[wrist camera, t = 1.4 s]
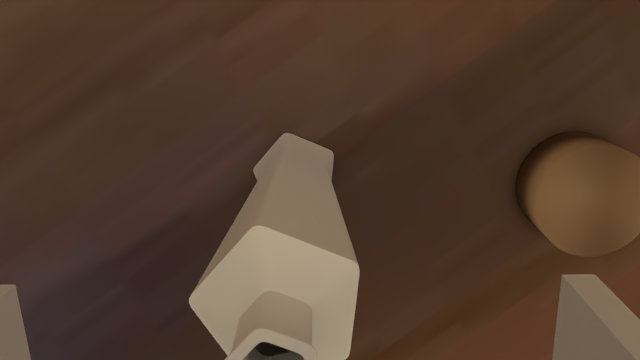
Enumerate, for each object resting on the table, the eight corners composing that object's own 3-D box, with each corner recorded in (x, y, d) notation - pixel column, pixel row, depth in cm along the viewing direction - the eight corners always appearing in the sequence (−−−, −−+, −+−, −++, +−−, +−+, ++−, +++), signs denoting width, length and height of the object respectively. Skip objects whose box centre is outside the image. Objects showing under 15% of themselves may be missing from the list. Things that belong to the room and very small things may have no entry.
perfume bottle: (332, 114, 26) (351, 253, 11) (352, 202, 27) (392, 426, 13) (235, 136, 26) (135, 299, 12) (259, 222, 27) (197, 463, 13)
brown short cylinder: (510, 231, 28) (533, 258, 25) (519, 132, 26) (543, 148, 23) (612, 229, 28) (646, 255, 25) (626, 129, 26) (664, 145, 23)
